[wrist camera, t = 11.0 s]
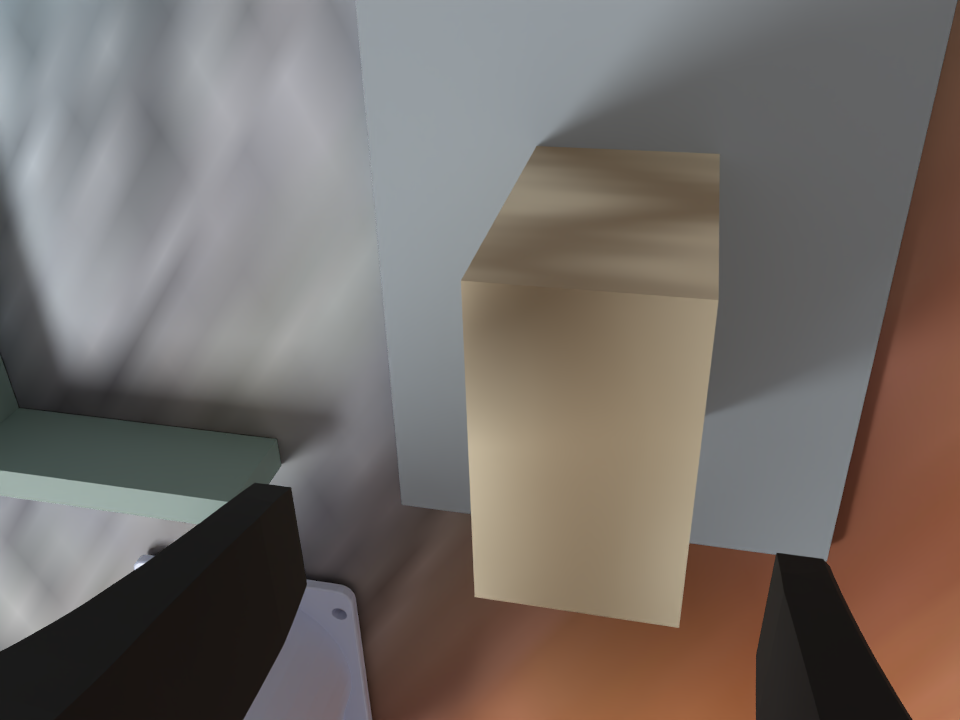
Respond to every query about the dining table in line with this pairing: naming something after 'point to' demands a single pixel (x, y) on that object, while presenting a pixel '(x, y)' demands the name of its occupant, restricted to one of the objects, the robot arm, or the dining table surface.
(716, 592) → the dining table surface
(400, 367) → the rubber mat
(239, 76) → the dining table surface
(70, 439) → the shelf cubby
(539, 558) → the block
